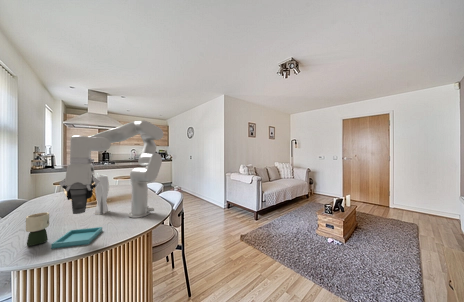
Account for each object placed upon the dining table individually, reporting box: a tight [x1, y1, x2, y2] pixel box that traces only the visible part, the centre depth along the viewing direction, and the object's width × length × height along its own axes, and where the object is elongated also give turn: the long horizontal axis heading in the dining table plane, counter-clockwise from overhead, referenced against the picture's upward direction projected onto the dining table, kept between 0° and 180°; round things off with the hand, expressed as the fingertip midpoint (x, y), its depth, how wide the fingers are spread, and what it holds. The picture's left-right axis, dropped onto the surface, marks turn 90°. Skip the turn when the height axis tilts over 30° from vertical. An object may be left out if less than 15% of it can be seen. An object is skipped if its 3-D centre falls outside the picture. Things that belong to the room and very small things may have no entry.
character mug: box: [25, 211, 50, 247], centre depth 78 cm, size 11×7×13 cm, turn 64°
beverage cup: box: [70, 182, 88, 215], centre depth 82 cm, size 7×7×20 cm
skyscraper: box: [93, 172, 111, 216], centre depth 118 cm, size 8×8×28 cm
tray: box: [50, 226, 103, 249], centre depth 82 cm, size 14×14×2 cm
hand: (79, 198), depth 82 cm, fingers closed on beverage cup, 6 cm apart
